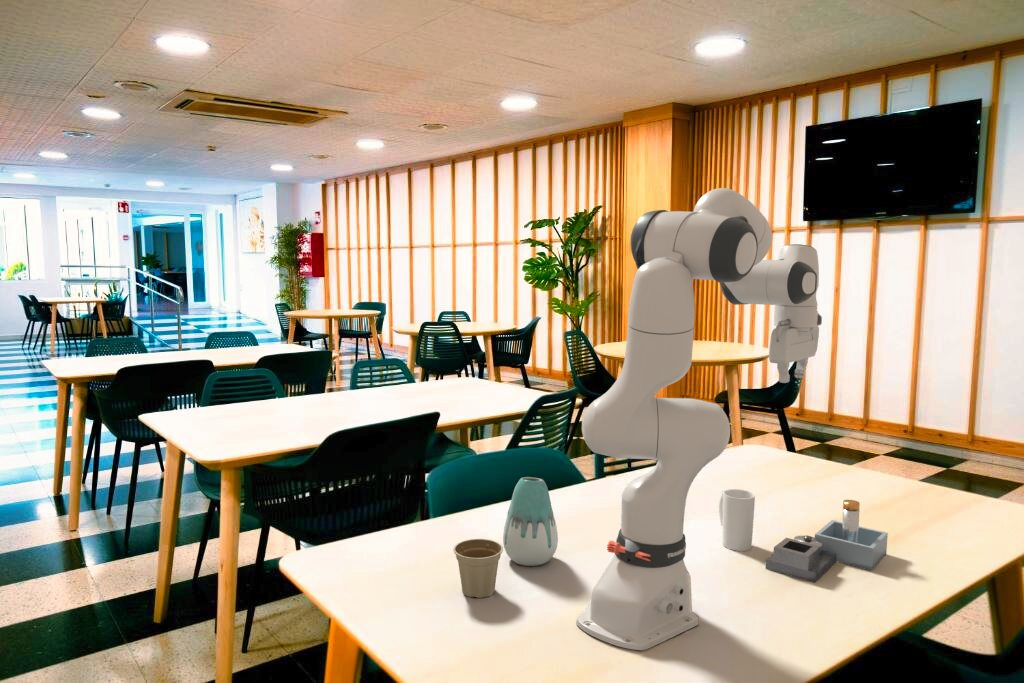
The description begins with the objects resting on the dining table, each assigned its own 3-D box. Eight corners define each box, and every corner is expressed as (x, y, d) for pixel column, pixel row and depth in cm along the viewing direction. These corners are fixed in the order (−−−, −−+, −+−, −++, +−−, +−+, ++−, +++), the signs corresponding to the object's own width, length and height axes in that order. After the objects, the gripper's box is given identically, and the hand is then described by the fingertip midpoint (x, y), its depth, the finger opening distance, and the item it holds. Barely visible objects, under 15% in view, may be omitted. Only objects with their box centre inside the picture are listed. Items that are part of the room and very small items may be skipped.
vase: (529, 544, 159) (530, 466, 157) (568, 560, 151) (570, 478, 149) (491, 559, 151) (492, 477, 149) (530, 576, 143) (531, 490, 141)
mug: (759, 549, 157) (761, 496, 156) (734, 553, 155) (736, 500, 154) (730, 533, 167) (732, 483, 166) (706, 536, 165) (708, 486, 163)
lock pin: (855, 555, 153) (857, 505, 151) (839, 551, 155) (841, 502, 153) (859, 550, 155) (861, 501, 154) (844, 546, 157) (845, 498, 156)
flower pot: (484, 607, 130) (484, 562, 129) (443, 594, 135) (443, 550, 134) (512, 588, 138) (512, 545, 137) (472, 576, 142) (472, 535, 142)
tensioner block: (815, 582, 141) (816, 557, 140) (765, 568, 147) (766, 544, 147) (835, 562, 151) (837, 539, 150) (788, 550, 157) (789, 527, 157)
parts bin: (871, 570, 147) (873, 548, 146) (813, 555, 154) (814, 534, 154) (886, 554, 155) (887, 532, 155) (830, 540, 163) (832, 520, 162)
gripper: (792, 321, 148) (789, 387, 149) (824, 317, 163) (821, 376, 165) (762, 320, 152) (759, 383, 154) (796, 315, 167) (793, 373, 169)
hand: (792, 380), depth 159 cm, fingers open, 8 cm apart
